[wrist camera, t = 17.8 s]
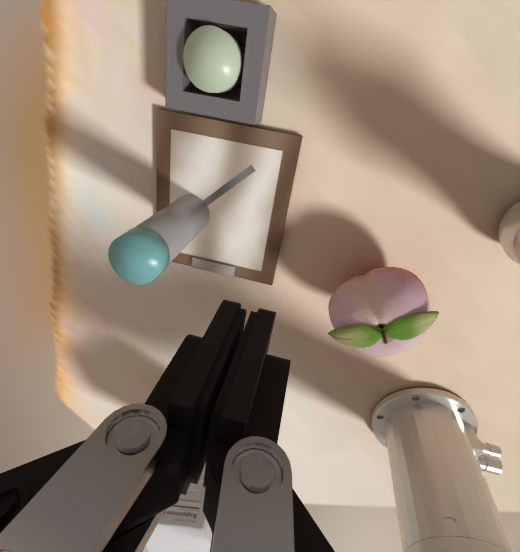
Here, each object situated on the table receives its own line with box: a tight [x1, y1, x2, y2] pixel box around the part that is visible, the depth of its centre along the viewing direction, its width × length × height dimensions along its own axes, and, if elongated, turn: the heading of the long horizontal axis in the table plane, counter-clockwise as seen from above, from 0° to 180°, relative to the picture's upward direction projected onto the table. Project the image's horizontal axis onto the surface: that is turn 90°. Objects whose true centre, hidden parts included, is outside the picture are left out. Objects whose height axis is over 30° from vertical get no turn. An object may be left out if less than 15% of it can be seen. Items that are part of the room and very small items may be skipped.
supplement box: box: [146, 462, 212, 552], centre depth 45 cm, size 10×9×17 cm
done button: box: [183, 25, 244, 93], centre depth 27 cm, size 4×4×2 cm
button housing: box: [165, 0, 277, 125], centre depth 28 cm, size 8×8×3 cm
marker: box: [108, 195, 210, 285], centre depth 30 cm, size 4×4×12 cm
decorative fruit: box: [328, 267, 439, 356], centre depth 32 cm, size 9×8×10 cm
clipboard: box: [157, 109, 302, 285], centre depth 35 cm, size 14×16×1 cm
